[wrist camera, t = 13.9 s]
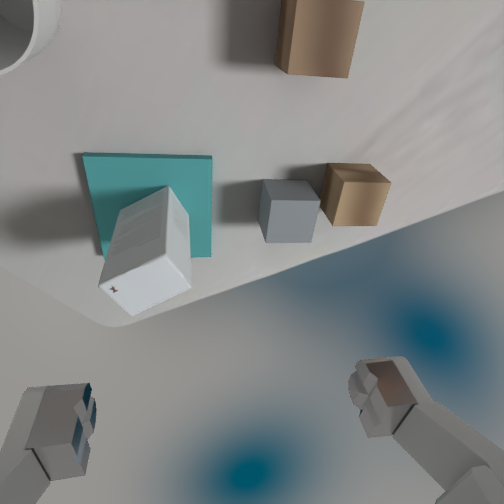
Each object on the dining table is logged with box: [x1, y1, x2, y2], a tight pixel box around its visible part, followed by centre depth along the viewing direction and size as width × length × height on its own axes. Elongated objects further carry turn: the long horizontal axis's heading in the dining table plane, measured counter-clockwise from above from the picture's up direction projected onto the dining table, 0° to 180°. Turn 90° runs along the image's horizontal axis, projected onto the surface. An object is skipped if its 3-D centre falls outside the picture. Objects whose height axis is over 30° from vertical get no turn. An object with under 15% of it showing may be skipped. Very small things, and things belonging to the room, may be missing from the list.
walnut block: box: [275, 0, 364, 78], centre depth 28 cm, size 5×5×5 cm
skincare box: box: [98, 186, 192, 316], centre depth 31 cm, size 6×4×12 cm
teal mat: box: [82, 153, 212, 260], centre depth 36 cm, size 12×12×1 cm
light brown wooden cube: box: [320, 163, 391, 226], centre depth 37 cm, size 5×5×5 cm
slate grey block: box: [258, 179, 321, 243], centre depth 37 cm, size 5×5×5 cm
